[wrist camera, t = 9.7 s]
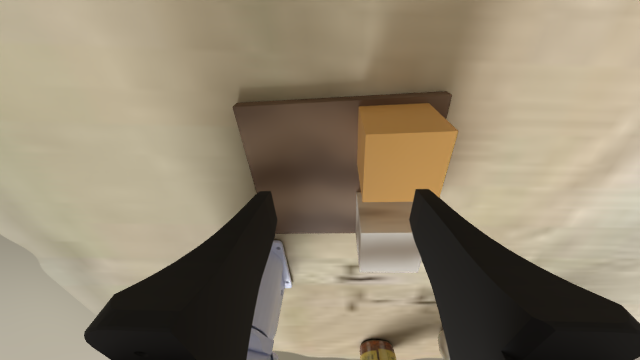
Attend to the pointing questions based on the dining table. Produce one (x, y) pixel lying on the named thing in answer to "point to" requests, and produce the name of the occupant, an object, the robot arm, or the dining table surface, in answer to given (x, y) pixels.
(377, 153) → the kraft paper cube
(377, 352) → the sauce bottle
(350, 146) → the board
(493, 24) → the dining table surface
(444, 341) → the plastic bottle
